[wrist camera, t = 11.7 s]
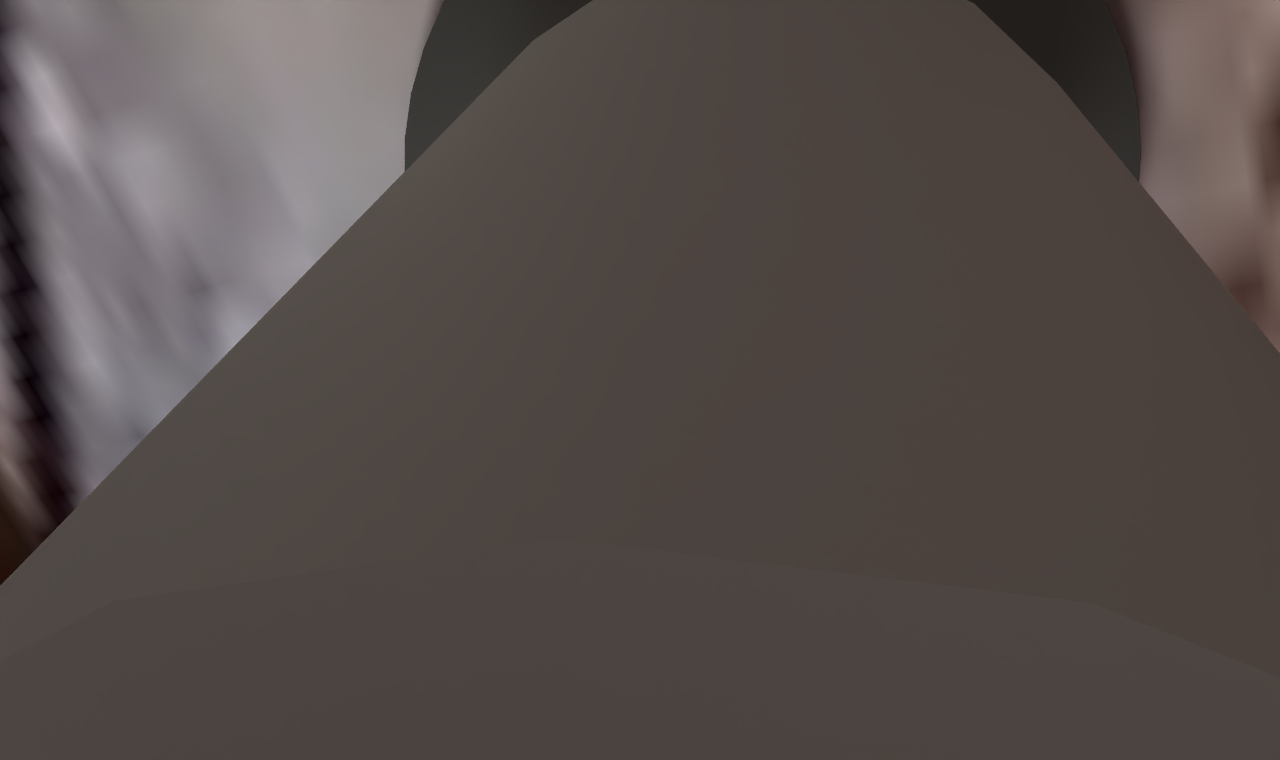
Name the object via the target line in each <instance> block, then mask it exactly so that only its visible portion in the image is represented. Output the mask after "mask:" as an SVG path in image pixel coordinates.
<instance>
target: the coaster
mask: <svg viewBox="0 0 1280 760" xmlns="http://www.w3.org/2000/svg"><path fill="white" fill-rule="evenodd" d="M591 1H592V0H445V2H444V3H443V5H442V8H441V10H440V12H439V15H438V17H437V19H436V22H435V24H434V26H433V28H432V31H431V33H430V35H429V38H428V40H427V42H426V45H425V47H424V50H423V53H422V57H421V60H420V64H419V67H418V71H417V75H416V78H415V82H414V85H413V89H412V92H411V99H410V106H409V113H408V120H407V128H406V135H405V171H406V170H407V169H408V168H409V167H410V166H411V165H412V164H413V163H414V162H415V161H416V160H417V159H418V158H419V157H420V156H421V155H422V154H423V153H424V152H425V151H426V150H427V149H428V148H429V147H430V146H431V145H432V143H433V142H434V141H435V140H436V139H437V138H438V137H439V136H440V135H441V134H442V133H443V132H444V131H445V130H446V129H447V128H448V127H449V126H450V125H451V124H452V123H453V122H454V121H455V120H456V119H457V118H458V117H459V116H460V115H461V114H462V113H463V112H464V111H465V110H466V109H467V108H468V107H469V106H470V105H471V104H472V103H473V101H474V100H475V99H476V98H477V97H478V96H479V95H480V94H481V93H482V92H483V91H484V90H485V89H486V88H487V87H488V86H489V85H490V84H491V83H492V82H493V81H494V80H495V79H496V78H497V77H498V76H499V75H500V74H501V73H502V72H503V71H504V70H505V69H506V68H507V67H508V66H509V65H510V64H511V63H512V62H513V61H514V60H515V58H516V57H517V56H518V55H519V54H520V53H521V52H522V51H523V50H524V49H525V48H526V47H527V46H528V45H529V44H530V43H531V42H532V41H533V40H535V39H536V38H537V37H539V36H540V35H542V34H543V33H545V32H546V31H548V30H549V29H551V28H552V27H554V26H555V25H557V24H558V23H560V22H561V21H563V20H564V19H566V18H567V17H569V16H570V15H572V14H573V13H575V12H576V11H578V10H579V9H580V8H582V7H583V6H585V5H586V4H588V3H589V2H591ZM967 1H970V2H972V3H974V4H975V5H976V6H977V7H978V8H979V9H980V10H981V11H982V12H984V13H985V14H986V15H987V16H988V17H989V18H990V19H991V20H992V21H993V22H994V23H995V24H996V25H997V26H998V27H999V28H1000V29H1001V30H1002V31H1003V32H1004V33H1006V34H1007V35H1008V36H1009V37H1010V38H1011V39H1012V40H1013V41H1014V42H1015V43H1016V44H1017V45H1018V46H1019V47H1020V48H1021V49H1022V50H1023V51H1024V52H1025V53H1026V54H1027V55H1029V56H1030V57H1031V58H1032V59H1033V60H1034V61H1035V62H1036V63H1037V64H1038V65H1039V66H1040V67H1041V68H1042V69H1043V70H1044V71H1045V72H1046V73H1047V74H1048V75H1049V76H1051V77H1052V78H1053V79H1054V80H1055V81H1056V82H1057V83H1058V85H1059V86H1060V87H1061V88H1062V89H1063V91H1064V92H1065V93H1066V94H1067V95H1068V97H1069V98H1070V99H1071V100H1072V102H1073V103H1074V104H1075V105H1076V106H1077V108H1078V109H1079V110H1080V111H1081V112H1082V114H1083V115H1084V116H1085V117H1086V119H1087V120H1088V121H1089V122H1090V123H1091V125H1092V126H1093V127H1094V128H1095V129H1096V131H1097V132H1098V133H1099V134H1100V136H1101V137H1102V138H1103V139H1104V140H1105V142H1106V143H1107V144H1108V145H1109V146H1110V148H1111V149H1112V150H1113V151H1114V153H1115V154H1116V155H1117V156H1118V157H1119V159H1120V160H1121V161H1122V162H1123V163H1124V165H1125V166H1126V167H1127V168H1128V170H1129V171H1130V172H1131V173H1132V174H1133V176H1134V177H1135V178H1136V179H1137V180H1138V182H1139V175H1140V160H1141V142H1140V129H1139V116H1138V103H1137V98H1136V94H1135V89H1134V85H1133V81H1132V76H1131V72H1130V67H1129V63H1128V59H1127V54H1126V51H1125V49H1124V46H1123V44H1122V41H1121V39H1120V36H1119V34H1118V31H1117V29H1116V26H1115V23H1114V21H1113V18H1112V16H1111V13H1110V11H1109V8H1108V6H1107V4H1106V2H1105V0H967Z"/></svg>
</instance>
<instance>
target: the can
mask: <svg viewBox="0 0 1280 760" xmlns="http://www.w3.org/2000/svg"><path fill="white" fill-rule="evenodd" d="M0 760H1280V353H1279V352H1278V351H1277V349H1276V348H1275V347H1274V346H1273V344H1272V343H1271V342H1270V341H1269V340H1268V338H1267V337H1266V336H1265V335H1264V334H1263V332H1262V331H1261V330H1260V329H1259V327H1258V326H1257V325H1256V324H1255V323H1254V321H1253V320H1252V319H1251V318H1250V317H1249V315H1248V314H1247V313H1246V312H1245V310H1244V309H1243V308H1242V307H1241V306H1240V304H1239V303H1238V302H1237V301H1236V300H1235V298H1234V297H1233V296H1232V295H1231V293H1230V292H1229V291H1228V290H1227V289H1226V287H1225V286H1224V285H1223V284H1222V283H1221V281H1220V280H1219V279H1218V278H1217V276H1216V275H1215V274H1214V273H1213V272H1212V270H1211V269H1210V268H1209V267H1208V266H1207V264H1206V263H1205V262H1204V261H1203V259H1202V258H1201V257H1200V256H1199V255H1198V253H1197V252H1196V251H1195V250H1194V249H1193V247H1192V246H1191V245H1190V244H1189V242H1188V241H1187V240H1186V239H1185V238H1184V236H1183V235H1182V234H1181V233H1180V232H1179V230H1178V229H1177V228H1176V227H1175V225H1174V224H1173V223H1172V222H1171V221H1170V219H1169V218H1168V217H1167V216H1166V215H1165V213H1164V212H1163V211H1162V210H1161V208H1160V207H1159V206H1158V205H1157V204H1156V202H1155V201H1154V200H1153V199H1152V197H1151V196H1150V195H1149V194H1148V193H1147V191H1146V190H1145V189H1144V188H1143V187H1142V185H1141V184H1140V183H1139V182H1138V180H1137V179H1136V178H1135V177H1134V176H1133V174H1132V173H1131V172H1130V171H1129V170H1128V168H1127V167H1126V166H1125V165H1124V163H1123V162H1122V161H1121V160H1120V159H1119V157H1118V156H1117V155H1116V154H1115V153H1114V151H1113V150H1112V149H1111V148H1110V146H1109V145H1108V144H1107V143H1106V142H1105V140H1104V139H1103V138H1102V137H1101V136H1100V134H1099V133H1098V132H1097V131H1096V129H1095V128H1094V127H1093V126H1092V125H1091V123H1090V122H1089V121H1088V120H1087V119H1086V117H1085V116H1084V115H1083V114H1082V112H1081V111H1080V110H1079V109H1078V108H1077V106H1076V105H1075V104H1074V103H1073V102H1072V100H1071V99H1070V98H1069V97H1068V95H1067V94H1066V93H1065V92H1064V91H1063V89H1062V88H1061V87H1060V86H1059V85H1058V83H1057V82H1056V81H1055V80H1054V79H1053V78H1052V77H1051V76H1049V75H1048V74H1047V73H1046V72H1045V71H1044V70H1043V69H1042V68H1041V67H1040V66H1039V65H1038V64H1037V63H1036V62H1035V61H1034V60H1033V59H1032V58H1031V57H1030V56H1029V55H1027V54H1026V53H1025V52H1024V51H1023V50H1022V49H1021V48H1020V47H1019V46H1018V45H1017V44H1016V43H1015V42H1014V41H1013V40H1012V39H1011V38H1010V37H1009V36H1008V35H1007V34H1006V33H1004V32H1003V31H1002V30H1001V29H1000V28H999V27H998V26H997V25H996V24H995V23H994V22H993V21H992V20H991V19H990V18H989V17H988V16H987V15H986V14H985V13H984V12H982V11H981V10H980V9H979V8H978V7H977V6H976V5H975V4H974V3H972V2H970V1H967V0H592V1H591V2H589V3H588V4H586V5H585V6H583V7H582V8H580V9H579V10H578V11H576V12H575V13H573V14H572V15H570V16H569V17H567V18H566V19H564V20H563V21H561V22H560V23H558V24H557V25H555V26H554V27H552V28H551V29H549V30H548V31H546V32H545V33H543V34H542V35H540V36H539V37H537V38H536V39H535V40H533V41H532V42H531V43H530V44H529V45H528V46H527V47H526V48H525V49H524V50H523V51H522V52H521V53H520V54H519V55H518V56H517V57H516V58H515V60H514V61H513V62H512V63H511V64H510V65H509V66H508V67H507V68H506V69H505V70H504V71H503V72H502V73H501V74H500V75H499V76H498V77H497V78H496V79H495V80H494V81H493V82H492V83H491V84H490V85H489V86H488V87H487V88H486V89H485V90H484V91H483V92H482V93H481V94H480V95H479V96H478V97H477V98H476V99H475V100H474V101H473V103H472V104H471V105H470V106H469V107H468V108H467V109H466V110H465V111H464V112H463V113H462V114H461V115H460V116H459V117H458V118H457V119H456V120H455V121H454V122H453V123H452V124H451V125H450V126H449V127H448V128H447V129H446V130H445V131H444V132H443V133H442V134H441V135H440V136H439V137H438V138H437V139H436V140H435V141H434V142H433V143H432V145H431V146H430V147H429V148H428V149H427V150H426V151H425V152H424V153H423V154H422V155H421V156H420V157H419V158H418V159H417V160H416V161H415V162H414V163H413V164H412V165H411V166H410V167H409V168H408V169H407V170H406V171H405V172H404V173H403V174H402V175H401V176H400V177H399V178H398V179H397V180H396V181H395V182H394V183H393V184H392V185H391V186H390V188H389V189H388V190H387V191H386V192H385V193H384V194H383V195H382V196H381V197H380V198H379V199H378V200H377V201H376V202H375V203H374V204H373V205H372V206H371V207H370V208H369V209H368V210H367V211H366V212H365V213H364V214H363V215H362V216H361V217H360V218H359V219H358V220H357V221H356V222H355V223H354V224H353V225H352V226H351V227H350V228H349V229H348V231H347V232H346V233H345V234H344V235H343V236H342V237H341V238H340V239H339V240H338V241H337V242H336V243H335V244H334V245H333V246H332V247H331V248H330V249H329V250H328V251H327V252H326V253H325V254H324V255H323V256H322V257H321V258H320V259H319V260H318V261H317V262H316V263H315V264H314V265H313V266H312V267H311V268H310V269H309V270H308V271H307V272H306V274H305V275H304V276H303V277H302V278H301V279H300V280H299V281H298V282H297V283H296V284H295V285H294V286H293V287H292V288H291V289H290V290H289V291H288V292H287V293H286V294H285V295H284V296H283V297H282V298H281V299H280V300H279V301H278V302H277V303H276V304H275V305H274V306H273V307H272V308H271V309H270V310H269V311H268V312H267V313H266V314H265V316H264V317H263V318H262V319H261V320H260V321H259V322H258V323H257V324H256V325H255V326H254V327H253V328H252V329H251V330H250V331H249V332H248V333H247V334H246V335H245V336H244V337H243V338H242V339H241V340H240V341H239V342H238V343H237V344H236V345H235V346H234V347H233V348H232V349H231V350H230V351H229V352H228V353H227V354H226V355H225V356H224V357H223V359H222V360H221V361H220V362H219V363H218V364H217V365H216V366H215V367H214V368H213V369H212V370H211V371H210V372H209V373H208V374H207V375H206V376H205V377H204V378H203V379H202V380H201V381H200V382H199V383H198V384H197V385H196V386H195V387H194V388H193V389H192V390H191V391H190V392H189V393H188V394H187V395H186V396H185V397H184V398H183V399H182V400H181V402H180V403H179V404H178V405H177V406H176V407H175V408H174V409H173V410H172V411H171V412H170V413H169V414H168V415H167V416H166V417H165V418H164V419H163V420H162V421H161V422H160V423H159V424H158V425H157V426H156V427H155V428H154V429H153V430H152V431H151V432H150V433H149V434H148V435H147V436H146V437H145V438H144V439H143V440H142V441H141V442H140V443H139V445H138V446H137V447H136V448H135V449H134V450H133V451H132V452H131V453H130V454H129V455H128V456H127V457H126V458H125V459H124V460H123V461H122V462H121V463H120V464H119V465H118V466H117V467H116V468H115V469H114V470H113V471H112V472H111V473H110V474H109V475H108V476H107V477H106V478H105V479H104V480H103V481H102V482H101V483H100V484H99V485H98V487H97V488H96V489H95V490H94V491H93V492H92V493H91V494H90V495H89V496H88V497H87V498H86V499H85V500H84V501H83V502H82V503H81V504H80V505H79V506H78V507H77V508H76V509H75V510H74V511H73V512H72V513H71V514H70V515H69V516H68V517H67V518H66V519H65V520H64V521H63V522H62V523H61V524H60V525H59V526H58V527H57V528H56V530H55V531H54V532H53V533H52V534H51V535H50V536H49V537H48V538H47V539H46V540H45V541H44V542H43V543H42V544H41V545H40V546H39V547H38V548H37V549H36V550H35V551H34V552H33V553H32V554H31V555H30V556H29V557H28V558H27V559H26V560H25V561H24V562H23V563H22V564H21V565H20V566H19V567H18V568H17V569H16V570H15V571H14V573H13V574H12V575H11V576H10V577H9V578H8V579H7V580H6V581H5V582H4V583H3V584H2V585H1V586H0Z"/></svg>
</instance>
